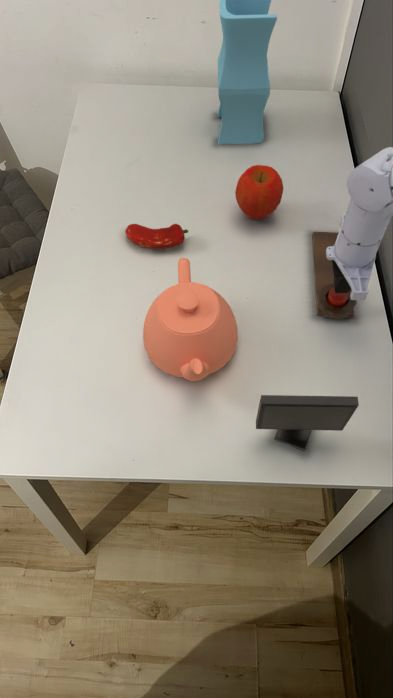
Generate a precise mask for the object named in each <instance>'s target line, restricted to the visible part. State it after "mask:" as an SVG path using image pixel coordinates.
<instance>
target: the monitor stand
mask: <svg viewBox="0 0 393 698" xmlns="http://www.w3.org/2000/svg"><path fill="white" fill-rule="evenodd" d="M311 433H312V430H283V429H276V433H275V436H274V440H275V441H277V442H280V443H282V444H284V445H287V446H290V447H293V448H295V449H298V450H300V451H303V452H304V451H305V450H306V448H307V444H308V442H309V438H310V436H311Z"/></svg>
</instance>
